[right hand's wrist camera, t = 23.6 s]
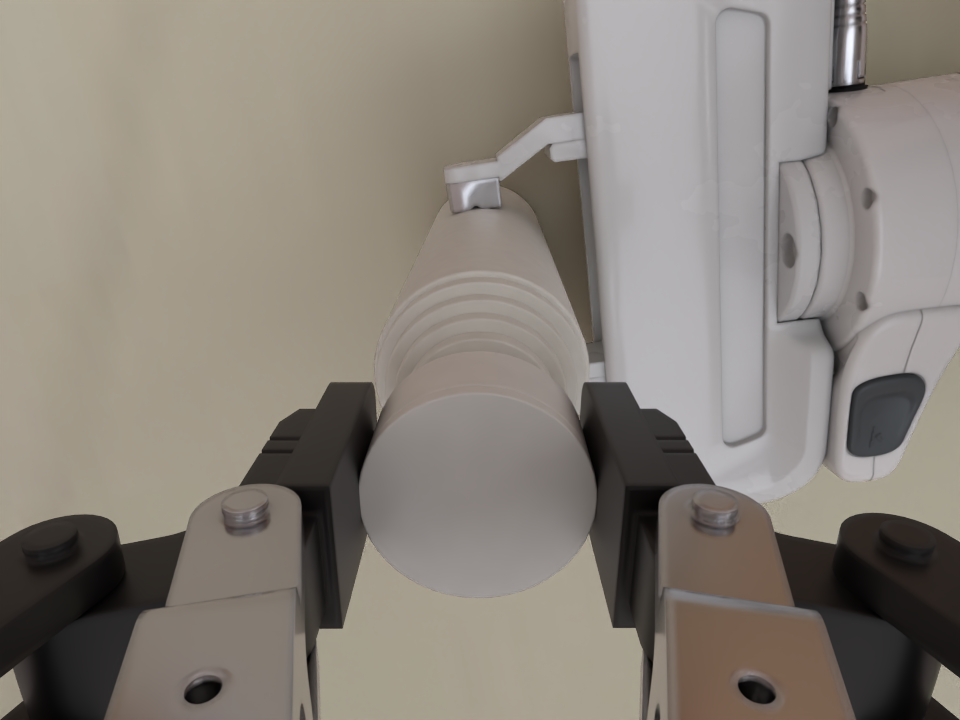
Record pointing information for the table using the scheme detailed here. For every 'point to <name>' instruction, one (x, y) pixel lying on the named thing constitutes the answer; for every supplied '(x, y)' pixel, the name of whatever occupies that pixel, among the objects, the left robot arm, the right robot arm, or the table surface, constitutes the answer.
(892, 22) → the table surface
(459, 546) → the cap
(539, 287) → the bottle
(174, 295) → the table surface
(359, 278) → the table surface
